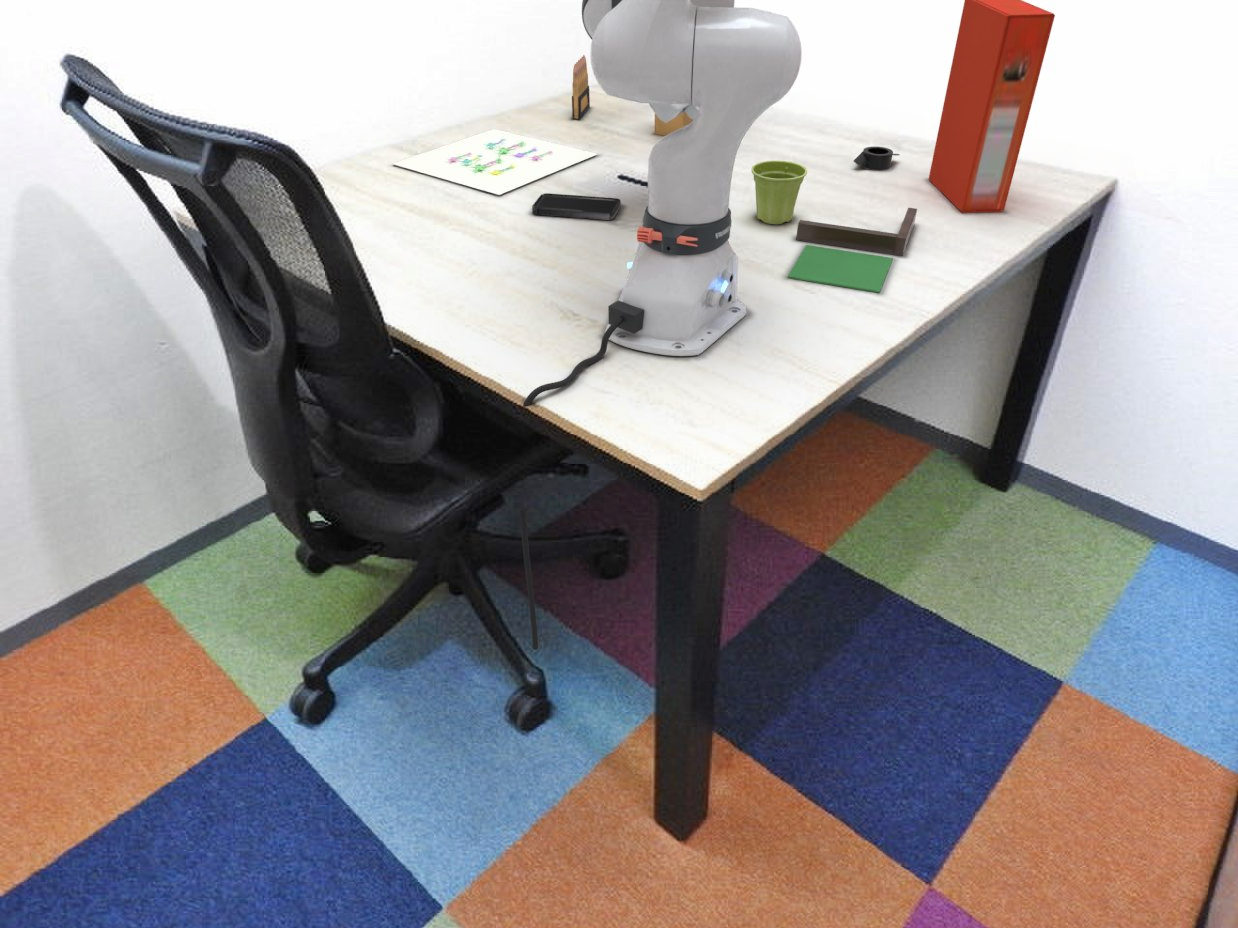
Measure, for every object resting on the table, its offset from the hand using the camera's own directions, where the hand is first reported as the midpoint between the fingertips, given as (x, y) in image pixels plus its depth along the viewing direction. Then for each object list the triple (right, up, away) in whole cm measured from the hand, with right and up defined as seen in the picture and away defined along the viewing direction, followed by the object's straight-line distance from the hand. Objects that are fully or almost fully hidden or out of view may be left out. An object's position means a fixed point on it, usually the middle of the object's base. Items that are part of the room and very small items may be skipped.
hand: (711, 126), depth 150 cm
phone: (-24, -13, +7) cm, 28 cm away
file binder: (+49, -8, +13) cm, 51 cm away
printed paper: (-41, +4, +30) cm, 51 cm away
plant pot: (+12, -15, +4) cm, 19 cm away
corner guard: (+25, -19, -1) cm, 31 cm away
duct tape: (+36, +2, +26) cm, 45 cm away
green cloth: (+19, -28, -13) cm, 36 cm away
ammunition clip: (-25, +25, +57) cm, 67 cm away
